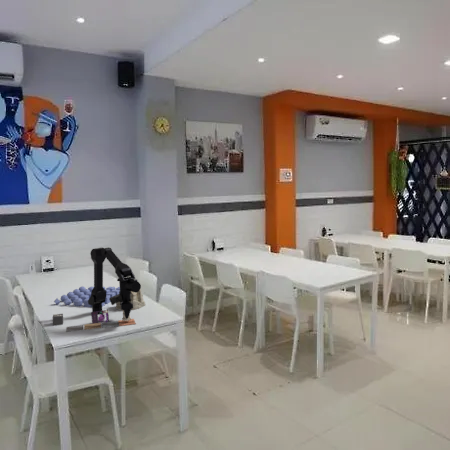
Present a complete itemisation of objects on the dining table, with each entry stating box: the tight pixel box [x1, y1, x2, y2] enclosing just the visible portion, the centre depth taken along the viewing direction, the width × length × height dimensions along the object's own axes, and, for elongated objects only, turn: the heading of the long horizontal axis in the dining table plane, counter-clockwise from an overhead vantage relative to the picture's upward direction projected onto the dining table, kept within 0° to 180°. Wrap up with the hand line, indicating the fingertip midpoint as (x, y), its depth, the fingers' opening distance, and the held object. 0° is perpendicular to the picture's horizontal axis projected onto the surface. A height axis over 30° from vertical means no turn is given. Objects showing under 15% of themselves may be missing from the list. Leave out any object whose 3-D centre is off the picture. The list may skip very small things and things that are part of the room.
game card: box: [90, 309, 110, 324], centre depth 237 cm, size 7×5×9 cm
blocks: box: [53, 285, 120, 308], centre depth 285 cm, size 35×34×5 cm
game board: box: [65, 318, 136, 333], centre depth 230 cm, size 9×36×1 cm, turn 108°
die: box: [52, 313, 64, 326], centre depth 234 cm, size 5×5×5 cm
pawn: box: [121, 310, 132, 321], centre depth 234 cm, size 5×5×7 cm
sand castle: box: [115, 287, 146, 311], centre depth 265 cm, size 16×16×15 cm
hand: (126, 317), depth 234 cm, fingers closed on pawn, 3 cm apart
